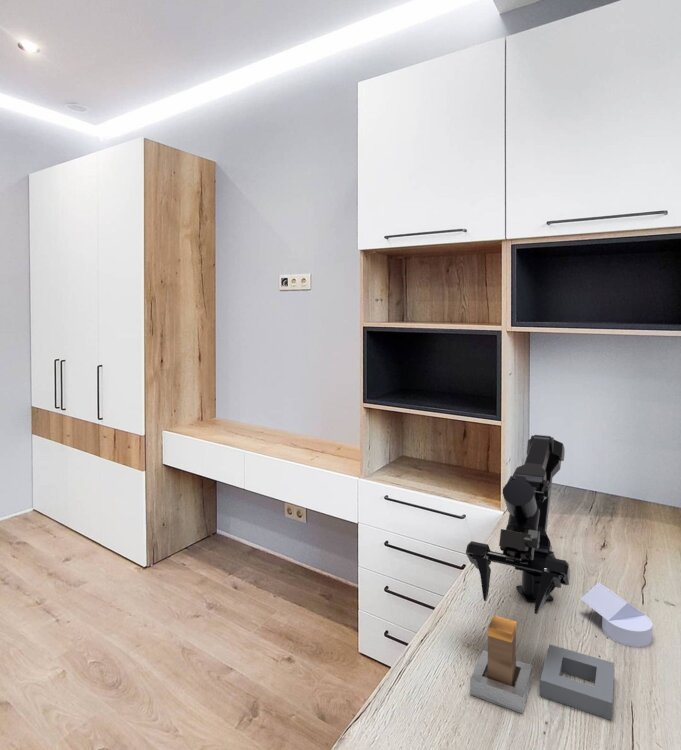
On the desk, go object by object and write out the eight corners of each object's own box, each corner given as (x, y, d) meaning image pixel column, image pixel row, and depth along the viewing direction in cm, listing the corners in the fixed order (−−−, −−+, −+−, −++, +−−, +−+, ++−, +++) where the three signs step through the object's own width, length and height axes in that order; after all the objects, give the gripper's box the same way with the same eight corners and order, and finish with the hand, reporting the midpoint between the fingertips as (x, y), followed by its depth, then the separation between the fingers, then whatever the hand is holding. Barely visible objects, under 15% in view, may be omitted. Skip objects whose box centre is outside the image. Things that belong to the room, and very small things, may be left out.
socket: (549, 658, 96) (549, 644, 95) (613, 678, 90) (614, 663, 90) (539, 695, 86) (540, 679, 86) (611, 720, 81) (612, 703, 80)
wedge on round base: (579, 613, 111) (623, 650, 98) (580, 584, 110) (625, 618, 97) (615, 607, 112) (662, 643, 100) (616, 579, 112) (664, 612, 99)
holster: (483, 664, 94) (483, 649, 94) (531, 680, 90) (532, 665, 90) (470, 694, 87) (470, 678, 87) (522, 713, 82) (522, 696, 82)
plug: (492, 676, 91) (493, 615, 90) (515, 684, 89) (516, 621, 88) (487, 690, 88) (487, 627, 87) (510, 699, 86) (511, 633, 85)
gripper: (468, 502, 100) (451, 579, 92) (570, 519, 91) (561, 606, 82) (478, 526, 108) (463, 599, 99) (573, 544, 98) (565, 626, 90)
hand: (509, 606), depth 92 cm, fingers open, 9 cm apart
